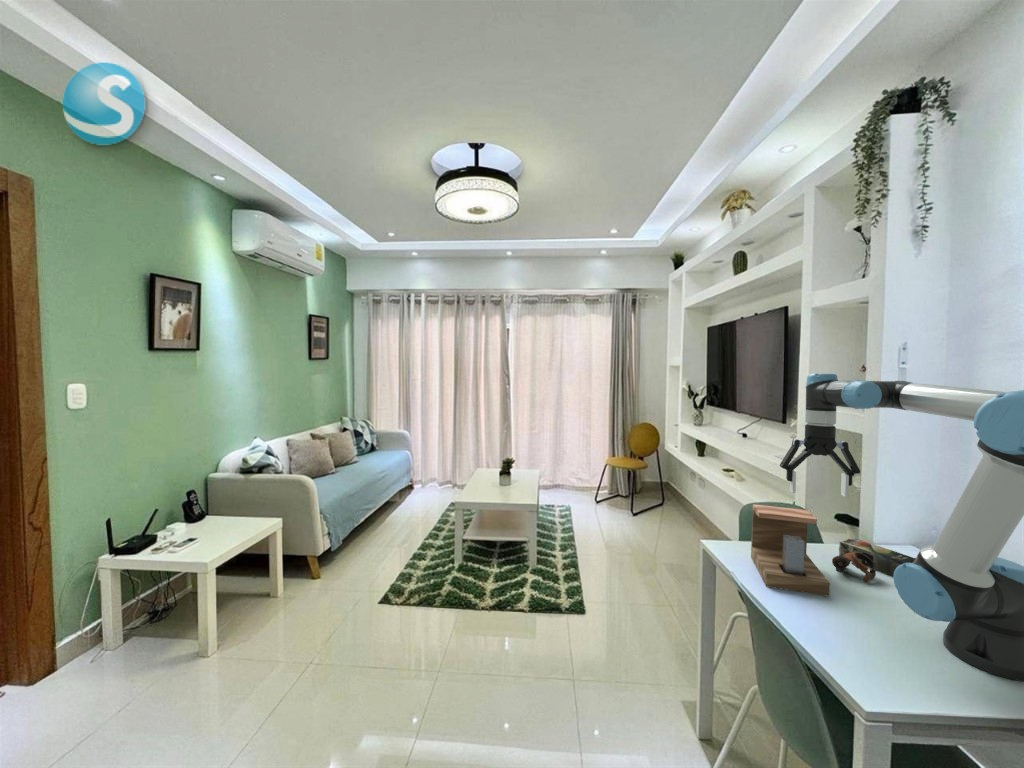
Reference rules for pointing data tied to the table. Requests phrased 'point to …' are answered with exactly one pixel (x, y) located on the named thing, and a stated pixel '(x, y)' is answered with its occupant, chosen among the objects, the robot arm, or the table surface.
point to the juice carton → (875, 555)
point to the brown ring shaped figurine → (855, 564)
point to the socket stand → (769, 549)
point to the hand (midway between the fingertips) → (818, 494)
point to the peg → (793, 555)
